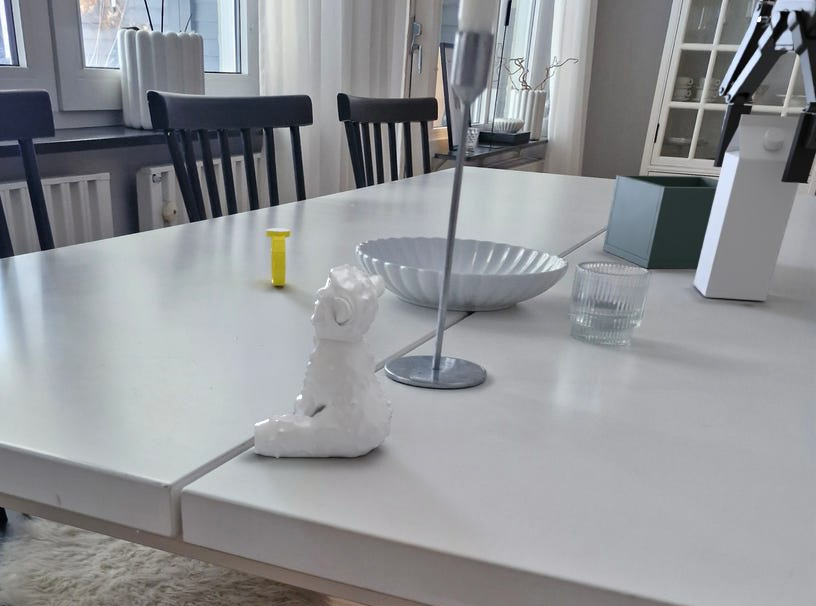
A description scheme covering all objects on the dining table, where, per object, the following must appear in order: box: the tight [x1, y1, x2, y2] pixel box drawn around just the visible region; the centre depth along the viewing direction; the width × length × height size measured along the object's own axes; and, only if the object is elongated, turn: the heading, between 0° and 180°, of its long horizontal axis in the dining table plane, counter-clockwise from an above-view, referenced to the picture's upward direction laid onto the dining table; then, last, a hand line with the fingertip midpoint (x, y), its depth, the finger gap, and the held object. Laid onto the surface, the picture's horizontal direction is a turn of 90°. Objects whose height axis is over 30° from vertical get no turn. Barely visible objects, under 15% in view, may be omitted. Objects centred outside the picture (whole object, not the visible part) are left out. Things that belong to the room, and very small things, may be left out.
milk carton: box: [693, 114, 800, 302], centre depth 105 cm, size 7×7×19 cm
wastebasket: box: [602, 174, 719, 270], centre depth 126 cm, size 14×14×10 cm
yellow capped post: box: [265, 227, 291, 287], centre depth 104 cm, size 6×3×6 cm, turn 6°
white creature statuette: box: [253, 263, 394, 459], centre depth 60 cm, size 10×9×12 cm
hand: (757, 174), depth 103 cm, fingers open, 13 cm apart
